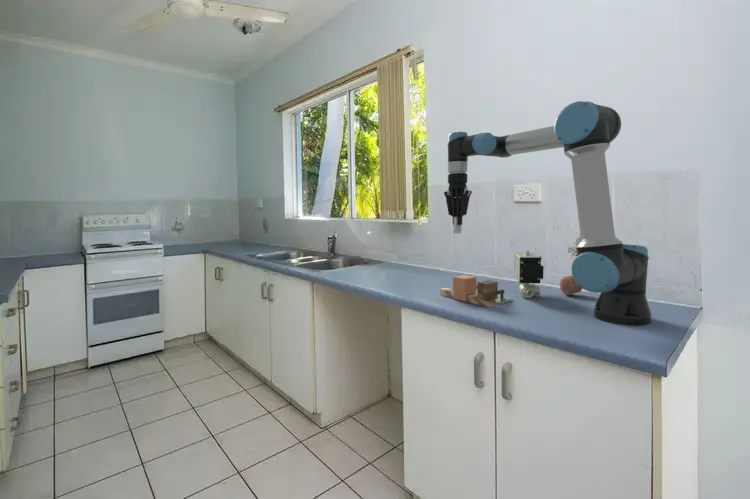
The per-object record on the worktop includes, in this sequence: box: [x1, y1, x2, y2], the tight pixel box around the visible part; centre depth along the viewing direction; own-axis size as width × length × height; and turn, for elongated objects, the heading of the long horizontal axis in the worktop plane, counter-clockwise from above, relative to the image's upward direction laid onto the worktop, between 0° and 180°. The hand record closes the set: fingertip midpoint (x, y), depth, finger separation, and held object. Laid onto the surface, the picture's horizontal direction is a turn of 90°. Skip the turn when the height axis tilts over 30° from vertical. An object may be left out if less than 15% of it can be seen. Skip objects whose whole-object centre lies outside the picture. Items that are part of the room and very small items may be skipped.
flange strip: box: [475, 289, 514, 306], centre depth 153 cm, size 22×9×1 cm, turn 34°
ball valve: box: [513, 250, 544, 299], centre depth 152 cm, size 18×8×18 cm, turn 168°
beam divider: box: [439, 279, 505, 308], centre depth 150 cm, size 25×12×8 cm, turn 34°
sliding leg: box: [452, 274, 477, 303], centre depth 151 cm, size 6×12×8 cm, turn 124°
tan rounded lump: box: [559, 275, 583, 297], centre depth 153 cm, size 8×8×8 cm
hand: (457, 233), depth 158 cm, fingers closed
